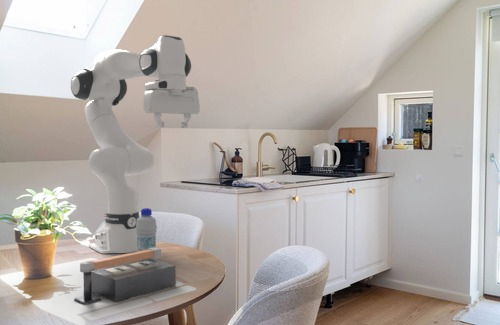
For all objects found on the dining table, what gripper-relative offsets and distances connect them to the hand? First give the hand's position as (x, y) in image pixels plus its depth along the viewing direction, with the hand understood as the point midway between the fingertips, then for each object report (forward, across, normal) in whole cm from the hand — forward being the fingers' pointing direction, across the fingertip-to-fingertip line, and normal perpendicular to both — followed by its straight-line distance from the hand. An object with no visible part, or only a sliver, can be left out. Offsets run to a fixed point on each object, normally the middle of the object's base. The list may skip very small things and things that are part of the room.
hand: (173, 127), depth 170 cm
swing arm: (+38, +27, +13) cm, 49 cm away
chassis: (+46, +24, +13) cm, 53 cm away
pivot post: (+46, +38, +14) cm, 61 cm away
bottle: (+46, +10, -2) cm, 47 cm away
